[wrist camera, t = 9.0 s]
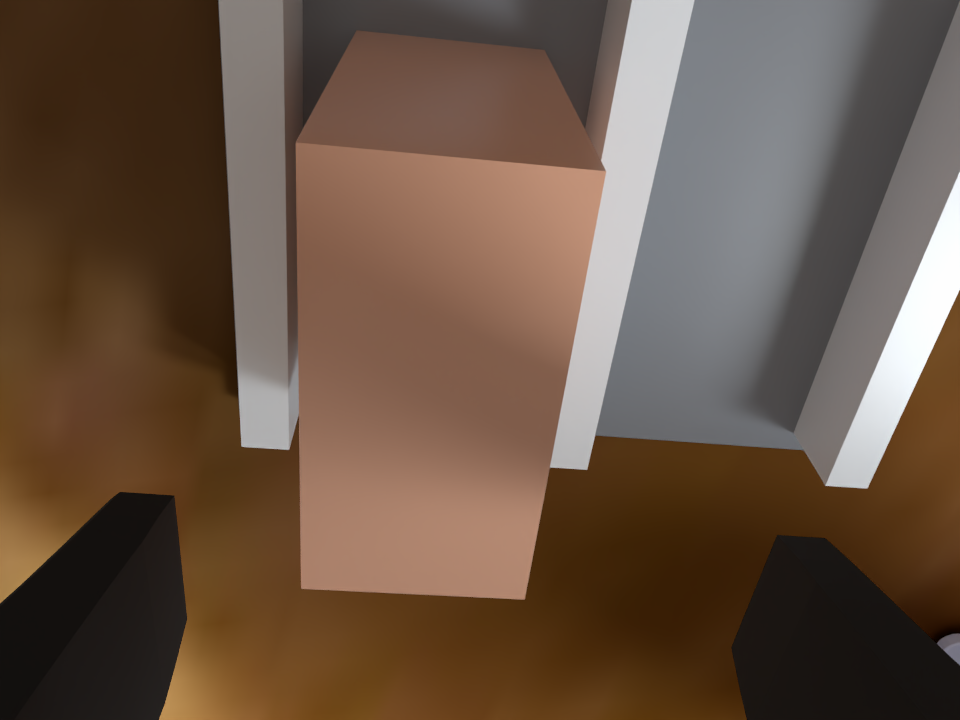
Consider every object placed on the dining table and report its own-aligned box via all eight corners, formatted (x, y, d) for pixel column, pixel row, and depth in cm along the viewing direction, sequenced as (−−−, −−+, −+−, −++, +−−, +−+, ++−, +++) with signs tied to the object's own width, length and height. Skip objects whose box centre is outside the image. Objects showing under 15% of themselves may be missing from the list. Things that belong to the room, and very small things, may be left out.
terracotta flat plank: (544, 49, 15) (606, 171, 9) (500, 366, 19) (524, 599, 13) (356, 30, 15) (295, 141, 9) (348, 354, 19) (301, 589, 13)
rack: (1036, -26, 15) (1127, -8, 13) (838, 442, 21) (880, 506, 19) (217, -129, 14) (177, -127, 12) (242, 400, 20) (219, 463, 18)
